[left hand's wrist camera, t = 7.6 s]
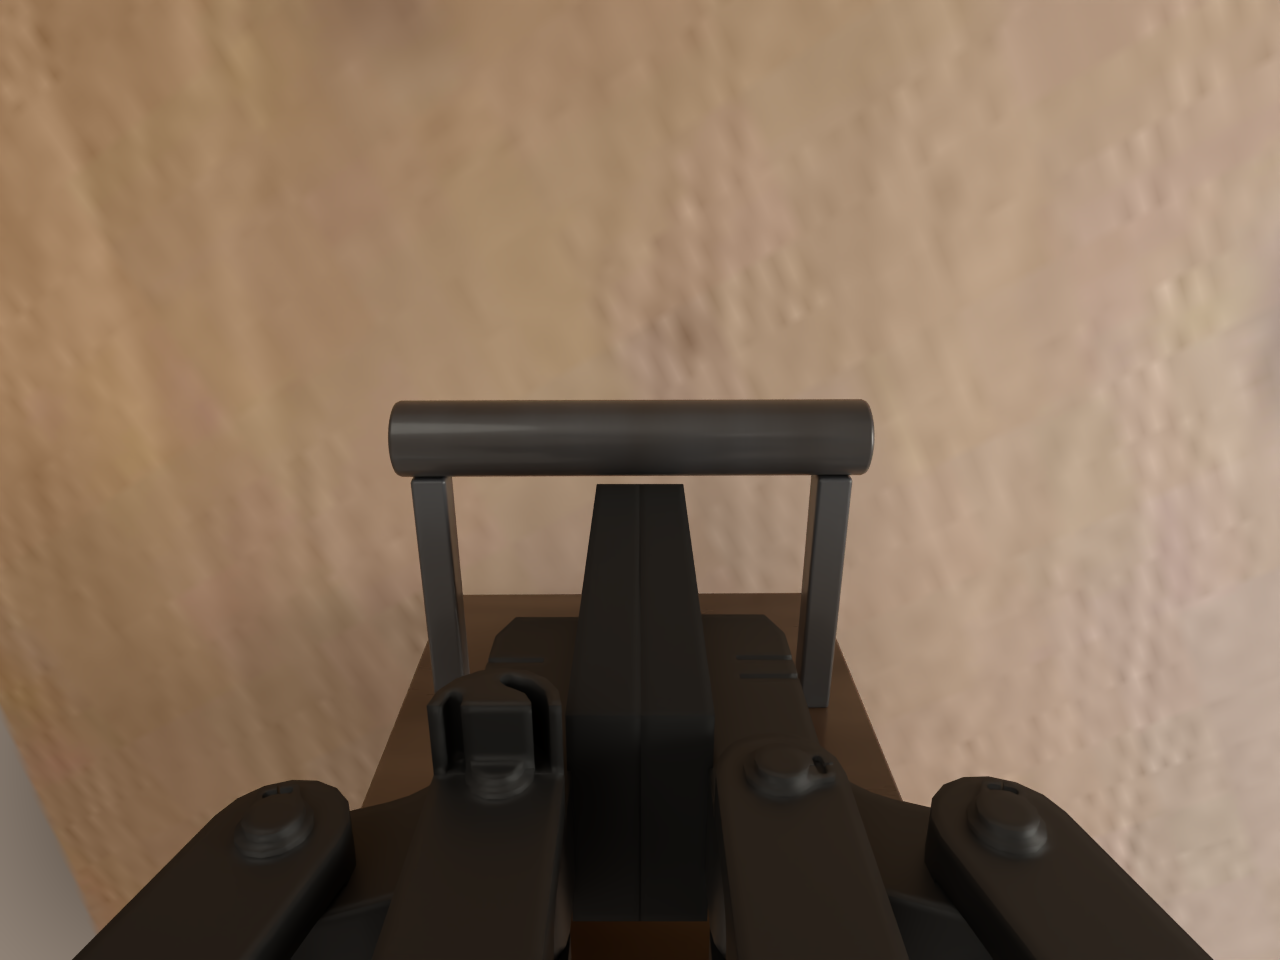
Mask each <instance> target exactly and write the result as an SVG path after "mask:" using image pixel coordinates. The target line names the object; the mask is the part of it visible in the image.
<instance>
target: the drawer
mask: <svg viewBox="0 0 1280 960" xmlns="http://www.w3.org/2000/svg"><path fill="white" fill-rule="evenodd" d="M388 447H389V455H390V459H391V463H392V466H393V469H394V471H395V473H396V474H397V475H399V476H402V477H413V479H412V481H411V490H412V499H413V507H414V516H415V525H416V534H417V543H418V552H419V561H420V569H421V578H422V587H423V596H424V605H425V614H426V622H427V631H428V642H427V644H426V647H425V649H424V652H423V654H422V657H421V659H420V662H419V664H418V667H417V669H416V672H415V674H414V677H413V679H412V682H411V684H410V687H409V689H408V692H407V694H406V697H405V699H404V702H403V704H402V707H401V709H400V712H399V715H398V717H397V720H396V722H395V725H394V727H393V730H392V732H391V735H390V737H389V740H388V742H387V745H386V747H385V750H384V752H383V755H382V757H381V760H380V762H379V765H378V767H377V770H376V772H375V775H374V777H373V780H372V782H371V785H370V787H369V790H368V792H367V795H366V797H365V800H364V802H363V805H362V807H361V808H365V807H369V806H374V805H378V804H382V803H386V802H390V801H393V800H397V799H400V798H403V797H406V796H409V795H411V794H413V793H415V792H418V791H420V790H422V789H424V788H426V787H428V786H429V785H430V784H431V781H432V778H433V775H434V772H433V763H432V753H431V744H430V734H429V725H428V715H427V704H428V703H429V702H430V700H431V699H432V697H433V696H434V695H435V693H436V692H437V691H438V690H439V689H441V688H442V687H444V686H445V685H447V684H448V683H450V682H451V681H453V680H454V679H456V678H459V677H462V676H465V675H468V674H471V673H474V672H477V671H481V670H485V668H486V664H487V663H488V658H489V655H490V651H491V648H492V645H493V642H494V639H495V636H496V635H497V634H498V633H499V632H500V631H501V630H502V629H503V628H504V627H506V626H507V625H508V624H509V623H510V622H511V621H512V620H513V619H514V618H515V617H579V611H580V603H581V596H582V594H550V595H463V592H462V582H461V571H460V560H459V549H458V538H457V527H456V517H455V506H454V495H453V484H452V477H474V476H721V475H811V486H810V498H809V510H808V522H807V534H806V545H805V557H804V569H803V581H802V593H729V594H698V596H699V603H700V611H701V614H764V615H766V616H767V617H768V618H769V619H770V620H771V621H772V622H773V623H774V624H775V625H776V626H777V627H779V628H780V629H781V630H782V631H783V632H784V633H785V635H786V638H787V642H788V645H789V648H790V651H791V654H792V660H793V661H794V664H795V667H796V670H797V674H798V679H799V680H800V683H801V686H802V690H803V693H804V696H805V699H806V702H807V706H808V709H809V712H810V715H811V718H812V722H813V725H814V728H815V731H816V734H817V738H818V741H819V744H820V746H822V747H823V748H824V749H826V750H827V751H828V752H830V753H831V754H832V755H834V756H835V757H836V758H837V760H838V761H839V763H840V764H841V766H842V768H843V769H844V771H845V772H846V774H847V777H848V780H849V781H850V782H852V783H853V784H855V785H857V786H859V787H861V788H863V789H865V790H868V791H870V792H872V793H875V794H878V795H882V796H885V797H888V798H891V799H896V800H900V801H903V800H902V798H901V795H900V793H899V791H898V788H897V786H896V783H895V781H894V778H893V776H892V774H891V771H890V769H889V766H888V764H887V761H886V759H885V756H884V754H883V752H882V749H881V747H880V744H879V742H878V739H877V737H876V734H875V732H874V730H873V727H872V725H871V722H870V720H869V717H868V715H867V713H866V710H865V708H864V705H863V703H862V700H861V698H860V695H859V693H858V691H857V688H856V686H855V683H854V681H853V678H852V676H851V673H850V671H849V669H848V666H847V664H846V661H845V659H844V656H843V654H842V652H841V649H840V647H839V644H838V642H837V639H836V631H837V621H838V612H839V602H840V593H841V583H842V574H843V564H844V555H845V545H846V536H847V526H848V517H849V507H850V498H851V488H852V479H851V477H850V476H849V475H862V474H864V473H866V472H867V470H868V469H869V466H870V463H871V460H872V456H873V450H874V422H873V416H872V413H871V409H870V406H869V404H868V403H867V402H866V401H864V400H862V399H804V400H478V401H399V402H397V403H395V405H394V406H393V408H392V411H391V415H390V419H389V427H388ZM570 938H571V960H709V938H710V923H709V912H708V915H707V921H573V915H572V917H571V927H570Z"/></svg>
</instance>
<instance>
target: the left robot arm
mask: <svg viewBox="0 0 1280 960" xmlns="http://www.w3.org/2000/svg"><path fill="white" fill-rule="evenodd" d="M427 715H428V725H429V734H430V744H431V753H432V763H433V772H434V775H433V778H432V781H431V784H430V785H429V786H428V787H426V788H424V789H422V790H420V791H418V792H415V793H413V794H411V795H409V796H406V797H403V798H400V799H397V800H393V801H390V802H386V803H382V804H378V805H374V806H369V807H365V808H361V809H356V810H352V811H350V810H349V803H348V801H347V800H346V798H345V797H344V796H343V795H342V794H341V792H340V791H339V790H338V789H337V788H335V787H332V786H330V785H327V784H324V783H322V782H319V781H308V780H290V781H286V782H281V783H276V784H272V785H267V786H264V787H261V788H259V789H257V790H255V791H253V792H251V793H248V794H246V795H244V796H242V797H240V798H237V799H236V800H235V801H234V802H232V803H231V804H230V805H228V806H227V807H226V808H224V809H223V810H222V811H221V812H219V813H218V814H217V815H215V816H214V817H213V818H212V819H211V820H210V821H209V822H208V823H207V824H206V825H205V826H204V827H203V828H202V829H201V830H200V831H199V832H198V833H197V834H196V835H195V836H194V837H193V838H192V839H191V840H190V841H189V842H188V843H187V844H186V845H185V846H184V848H183V849H182V850H181V851H180V852H179V853H178V854H177V855H176V856H175V857H174V858H173V859H172V860H171V861H170V862H169V863H168V864H167V865H166V866H165V867H164V868H163V869H162V870H161V871H160V872H159V873H158V874H157V875H156V876H155V877H154V878H153V879H152V880H151V881H150V882H149V883H148V884H147V885H146V886H145V887H144V888H143V889H142V890H141V891H140V892H139V893H138V894H137V895H136V896H135V897H134V898H133V899H132V900H131V901H130V902H129V903H128V904H127V905H126V906H125V907H124V908H123V909H122V910H121V911H120V912H119V913H118V914H117V915H116V916H115V917H114V918H113V919H112V920H111V921H110V922H109V923H108V924H107V925H106V926H105V927H104V928H103V929H102V930H101V931H100V932H99V933H98V934H97V935H96V936H95V937H94V938H93V939H92V940H91V941H90V942H89V943H88V944H87V945H86V946H85V947H84V948H83V949H82V950H81V951H80V952H79V953H78V954H77V955H76V956H75V957H74V958H73V959H72V960H571V938H570V927H571V917H572V915H573V921H707V915H708V912H709V923H710V938H709V960H1213V959H1212V958H1211V957H1210V956H1209V955H1208V954H1207V953H1206V952H1205V951H1204V950H1203V949H1202V948H1201V947H1200V946H1199V945H1198V944H1197V943H1196V942H1195V941H1194V940H1193V939H1192V938H1191V937H1190V936H1189V935H1188V934H1187V933H1186V932H1185V931H1184V930H1183V929H1182V928H1181V927H1180V926H1179V925H1178V924H1177V923H1176V922H1175V921H1174V920H1173V919H1172V918H1171V917H1170V916H1169V915H1168V914H1167V913H1166V912H1165V911H1164V910H1163V909H1162V908H1161V907H1160V906H1159V905H1158V904H1157V903H1156V902H1155V901H1154V900H1153V899H1152V898H1151V897H1150V896H1149V895H1148V894H1147V893H1146V892H1145V891H1144V890H1143V889H1142V888H1141V887H1140V886H1139V885H1138V884H1137V883H1136V882H1135V881H1134V880H1133V879H1132V878H1131V877H1130V876H1129V875H1128V874H1127V873H1126V872H1125V871H1124V870H1123V869H1122V868H1121V867H1120V866H1119V865H1118V864H1117V863H1116V862H1115V861H1114V860H1113V859H1112V858H1111V857H1110V856H1109V855H1108V854H1107V853H1106V852H1105V851H1104V850H1103V849H1102V848H1101V847H1100V846H1099V845H1098V844H1097V843H1096V842H1095V841H1094V840H1093V839H1092V838H1091V837H1090V836H1089V835H1088V834H1087V833H1086V832H1085V831H1084V830H1083V829H1082V828H1081V827H1080V826H1079V825H1078V824H1077V823H1076V822H1075V821H1074V820H1073V819H1072V818H1071V817H1070V816H1069V815H1068V814H1067V813H1066V812H1065V811H1064V810H1062V809H1061V808H1060V807H1059V806H1057V805H1056V804H1055V803H1053V802H1052V801H1051V800H1049V799H1048V798H1047V797H1045V796H1044V795H1043V794H1040V793H1038V792H1036V791H1034V790H1032V789H1029V788H1027V787H1025V786H1023V785H1021V784H1018V783H1016V782H1011V781H1007V780H1002V779H998V778H993V777H989V776H988V777H963V778H960V779H957V780H955V781H952V782H949V783H947V784H944V785H943V786H942V787H941V788H940V790H939V791H938V792H937V793H936V794H935V795H934V797H933V798H932V803H931V808H930V807H926V806H921V805H917V804H913V803H908V802H904V801H900V800H896V799H891V798H888V797H885V796H882V795H878V794H875V793H872V792H870V791H868V790H865V789H863V788H861V787H859V786H857V785H855V784H853V783H852V782H850V781H849V780H848V777H847V774H846V772H845V771H844V769H843V768H842V766H841V764H840V763H839V761H838V760H837V758H836V757H835V756H834V755H832V754H831V753H830V752H828V751H827V750H826V749H824V748H823V747H822V746H820V744H819V741H818V738H817V734H816V731H815V728H814V725H813V722H812V718H811V715H810V712H809V709H808V706H807V702H806V699H805V696H804V693H803V690H802V686H801V683H800V680H799V679H798V674H797V670H796V667H795V664H794V661H793V660H792V654H791V651H790V648H789V645H788V642H787V638H786V635H785V633H784V632H783V631H782V630H781V629H780V628H779V627H777V626H776V625H775V624H774V623H773V622H772V621H771V620H770V619H769V618H768V617H767V616H766V615H764V614H701V611H700V603H699V596H698V589H697V582H696V574H695V567H694V560H693V552H692V545H691V538H690V531H689V523H688V516H687V509H686V501H685V494H684V487H683V484H597V487H596V494H595V501H594V509H593V516H592V523H591V531H590V538H589V545H588V552H587V560H586V567H585V574H584V582H583V589H582V596H581V603H580V611H579V617H515V618H514V619H513V620H512V621H511V622H510V623H509V624H508V625H507V626H506V627H504V628H503V629H502V630H501V631H500V632H499V633H498V634H497V635H496V636H495V639H494V642H493V645H492V648H491V651H490V655H489V658H488V663H487V664H486V668H485V670H481V671H477V672H474V673H471V674H468V675H465V676H462V677H459V678H456V679H454V680H453V681H451V682H450V683H448V684H447V685H445V686H444V687H442V688H441V689H439V690H438V691H437V692H436V693H435V695H434V696H433V697H432V699H431V700H430V702H429V703H428V704H427Z"/></svg>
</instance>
